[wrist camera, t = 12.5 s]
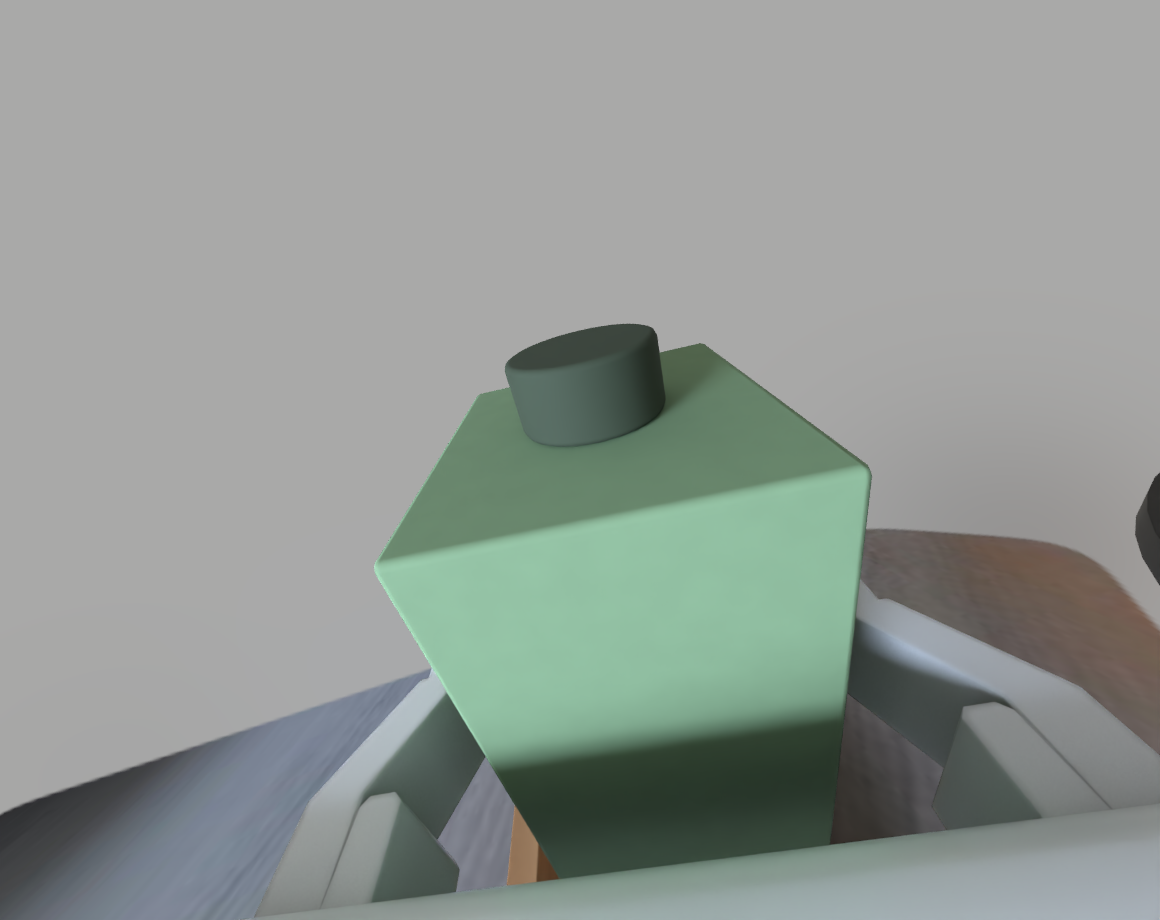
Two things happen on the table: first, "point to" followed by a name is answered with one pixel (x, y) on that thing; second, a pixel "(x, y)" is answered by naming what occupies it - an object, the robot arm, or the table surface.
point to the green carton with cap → (641, 601)
